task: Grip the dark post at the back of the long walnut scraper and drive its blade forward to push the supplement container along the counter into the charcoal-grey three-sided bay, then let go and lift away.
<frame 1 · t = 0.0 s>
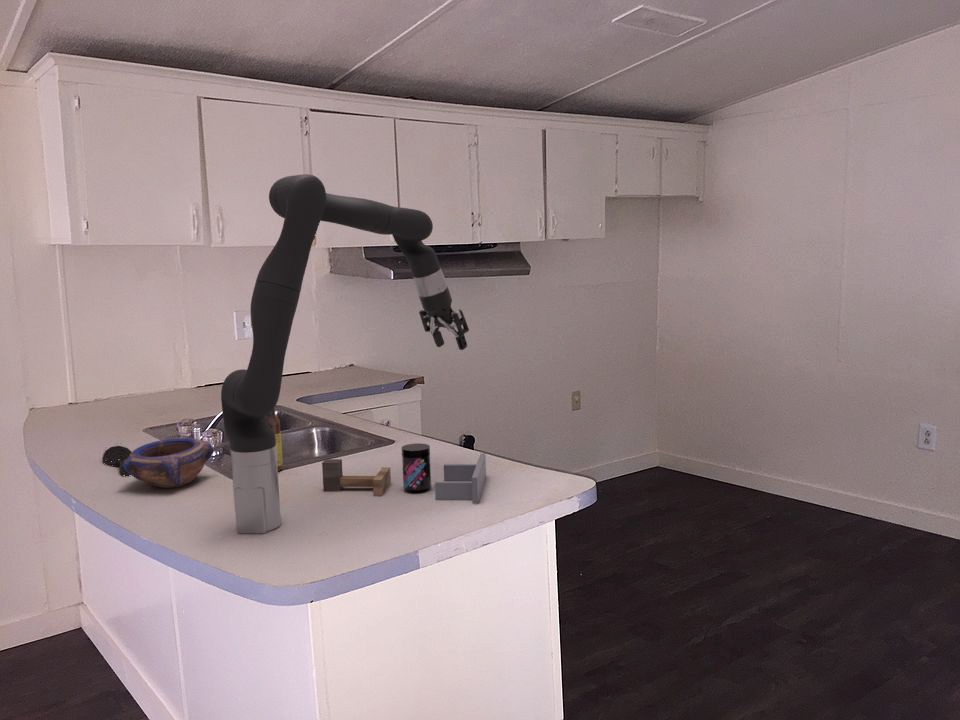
hand: (452, 347, 205), 31 cm above the worktop, tool tilted 20°, fingers open, 8 cm apart
scraper: (333, 489, 194), on the worktop
bowl: (170, 484, 203), on the worktop
supplement container: (417, 490, 192), on the worktop
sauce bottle: (271, 471, 211), on the worktop
hairbrush: (122, 467, 221), on the worktop
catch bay: (461, 489, 191), on the worktop
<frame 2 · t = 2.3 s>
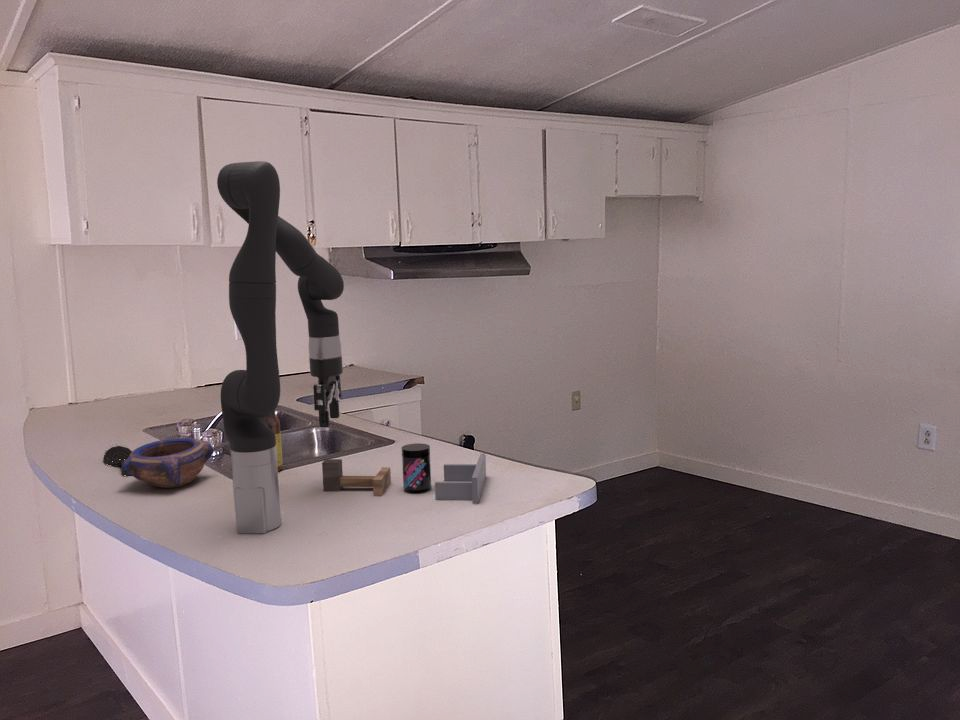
hand: (329, 422, 192), 16 cm above the worktop, tool pointing down, fingers open, 8 cm apart
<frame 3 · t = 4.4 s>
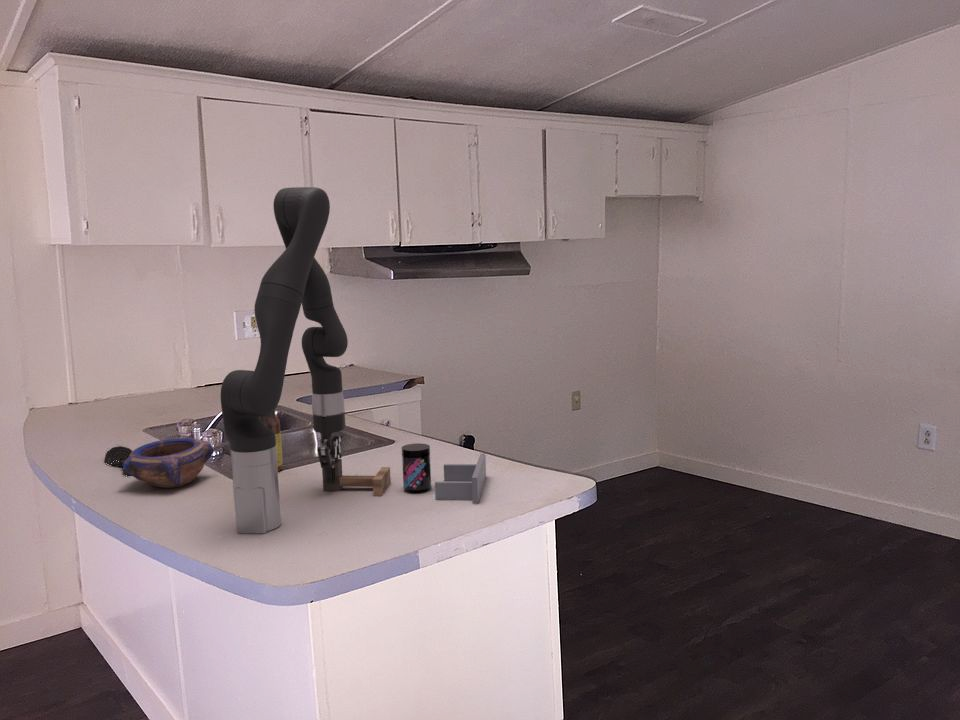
hand: (332, 480, 194), 2 cm above the worktop, tool pointing down, fingers closed on scraper, 3 cm apart
scraper: (333, 488, 194), on the worktop, touching gripper
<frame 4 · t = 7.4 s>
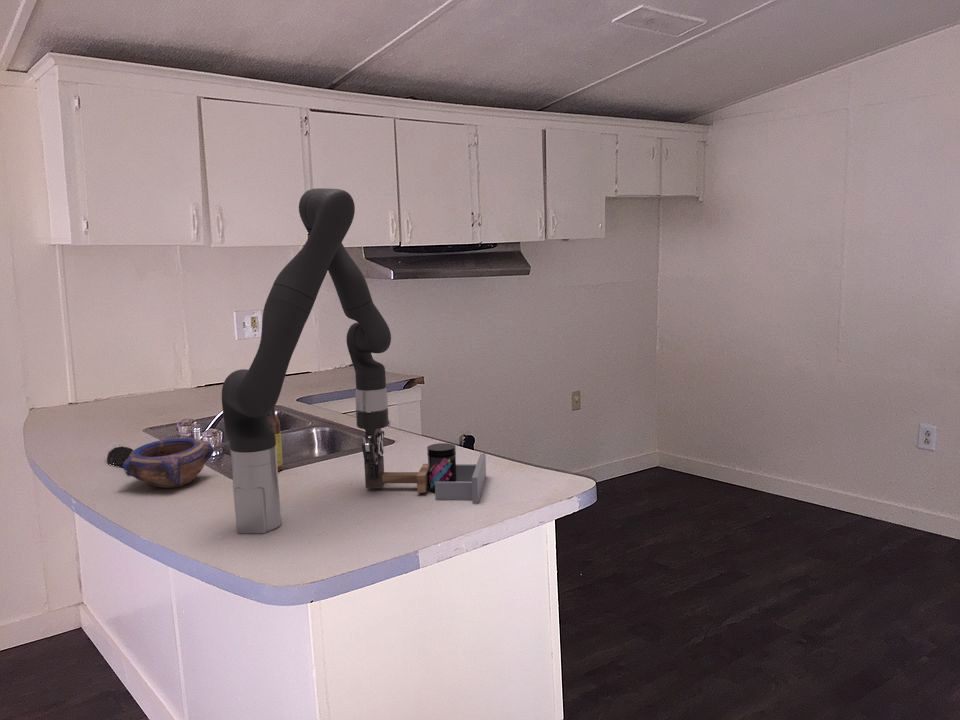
hand: (375, 477, 193), 3 cm above the worktop, tool pointing down, fingers closed on scraper, 3 cm apart
scraper: (375, 485, 193), point 1 cm above the worktop, touching gripper, supplement container
supplement container: (443, 490, 191), on the worktop, touching scraper
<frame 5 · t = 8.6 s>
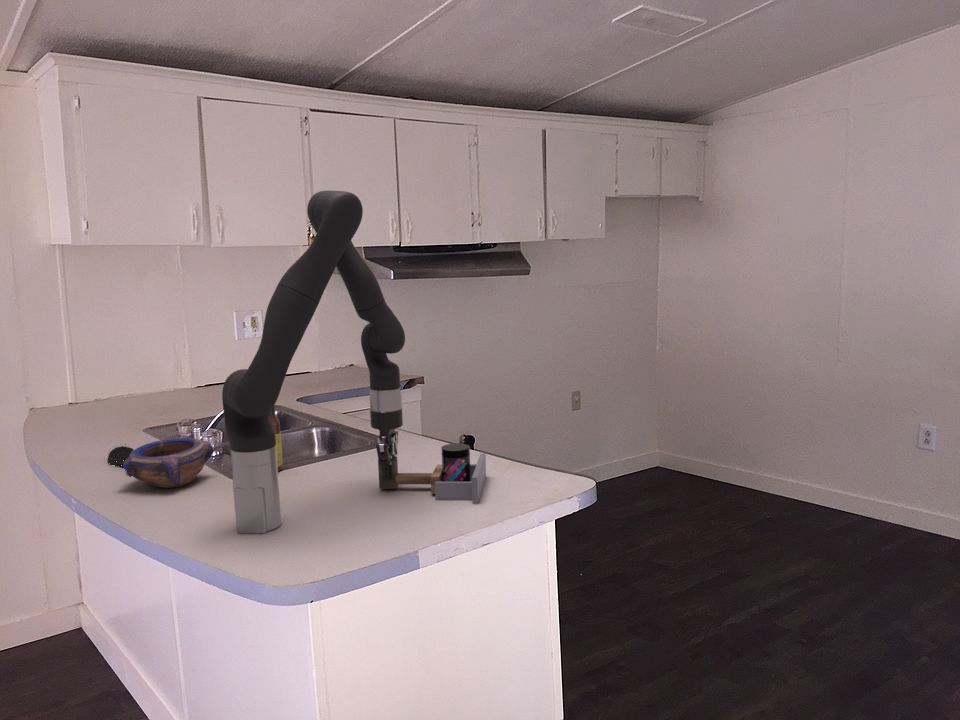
hand: (389, 477, 192), 3 cm above the worktop, tool pointing down, fingers closed on scraper, 3 cm apart
scraper: (388, 486, 193), point 1 cm above the worktop, touching gripper
supplement container: (456, 490, 191), on the worktop
when the fingers open (2 cm above the worktop, at t = 9.5 s): scraper stays where it is, on the worktop.
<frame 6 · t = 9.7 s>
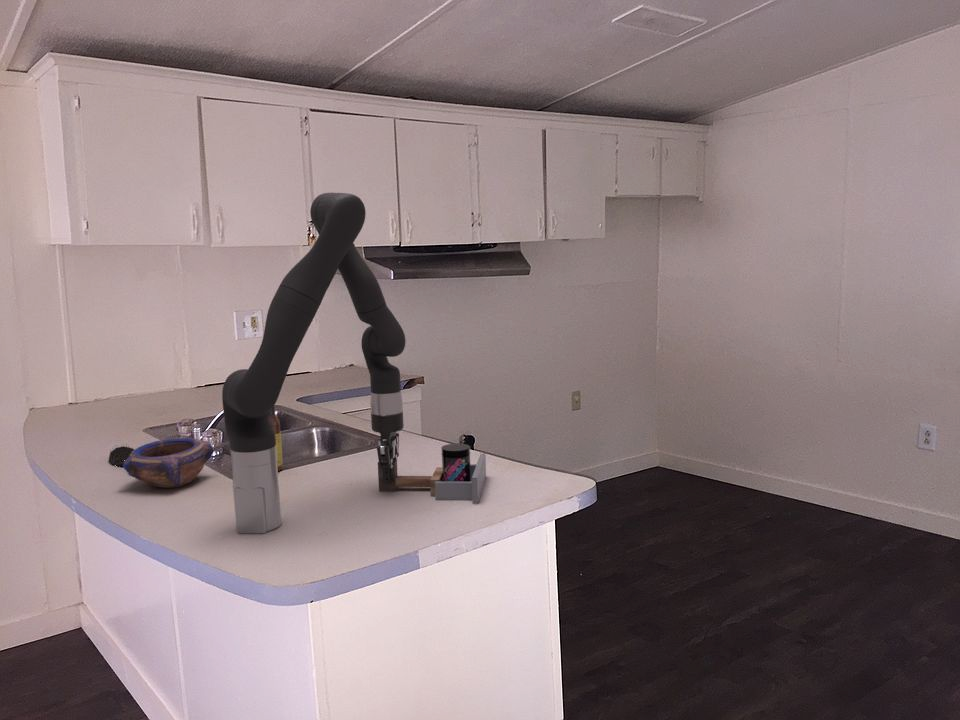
hand: (390, 480, 192), 2 cm above the worktop, tool pointing down, fingers open, 4 cm apart
scraper: (388, 489, 193), on the worktop
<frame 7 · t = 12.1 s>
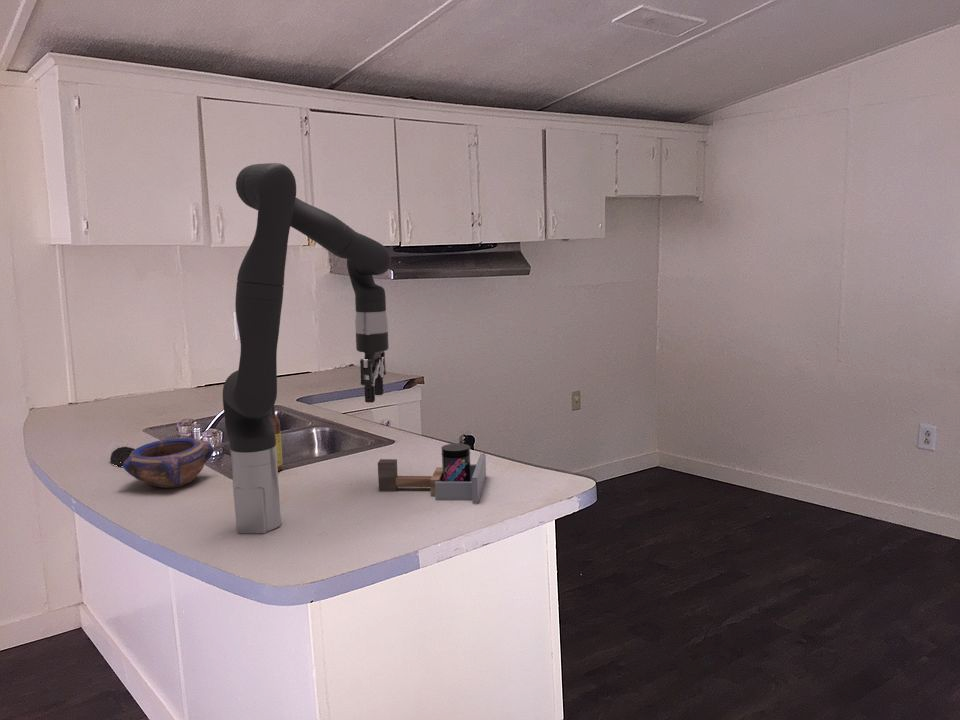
hand: (374, 398, 191), 22 cm above the worktop, tool pointing down, fingers open, 8 cm apart
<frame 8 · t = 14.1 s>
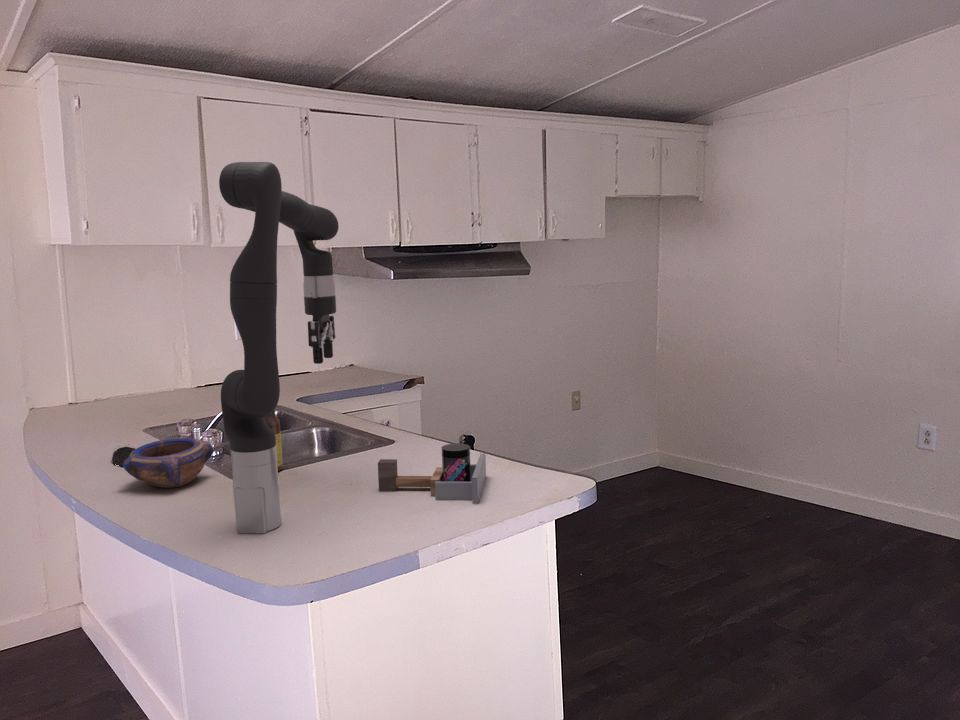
hand: (323, 360, 198), 30 cm above the worktop, tool pointing down, fingers open, 8 cm apart
at the end: supplement container inside the target area (1.0 cm from its centre), on the worktop; supplement container tilted 1°; the gripper is holding nothing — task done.
